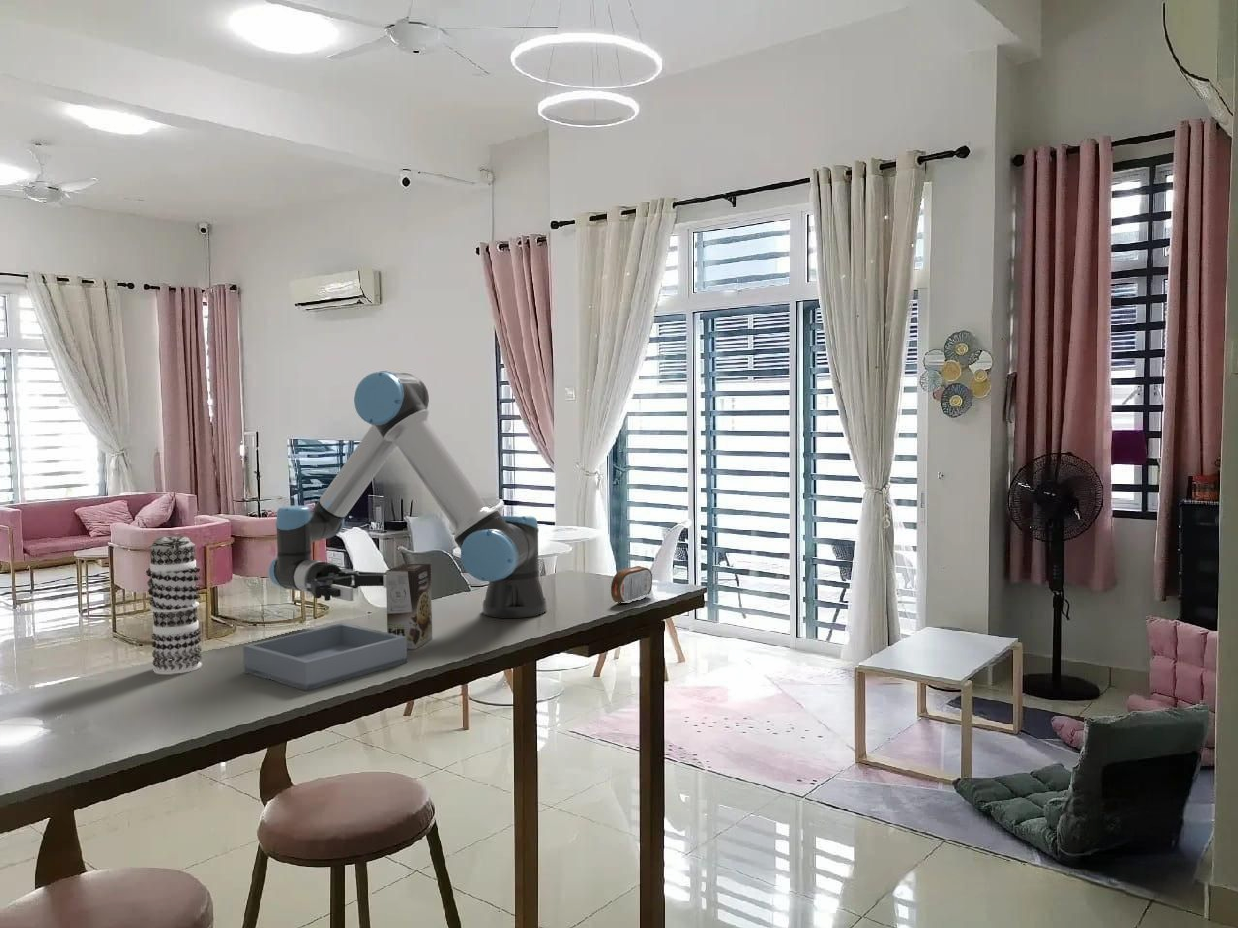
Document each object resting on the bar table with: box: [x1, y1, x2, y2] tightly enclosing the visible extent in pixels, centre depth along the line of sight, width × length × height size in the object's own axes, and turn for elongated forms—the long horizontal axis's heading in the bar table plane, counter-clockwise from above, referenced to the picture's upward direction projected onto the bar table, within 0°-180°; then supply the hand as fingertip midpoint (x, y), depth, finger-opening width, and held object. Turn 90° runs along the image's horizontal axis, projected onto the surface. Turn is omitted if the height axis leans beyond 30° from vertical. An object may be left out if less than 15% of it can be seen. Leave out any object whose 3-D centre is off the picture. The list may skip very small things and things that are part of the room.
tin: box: [610, 565, 653, 603], centre depth 234 cm, size 15×3×8 cm, turn 144°
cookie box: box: [385, 563, 433, 650], centre depth 194 cm, size 9×6×16 cm
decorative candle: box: [145, 535, 203, 675], centre depth 178 cm, size 9×9×25 cm
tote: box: [242, 622, 408, 692], centre depth 177 cm, size 22×20×5 cm
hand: (378, 589), depth 200 cm, fingers open, 13 cm apart
